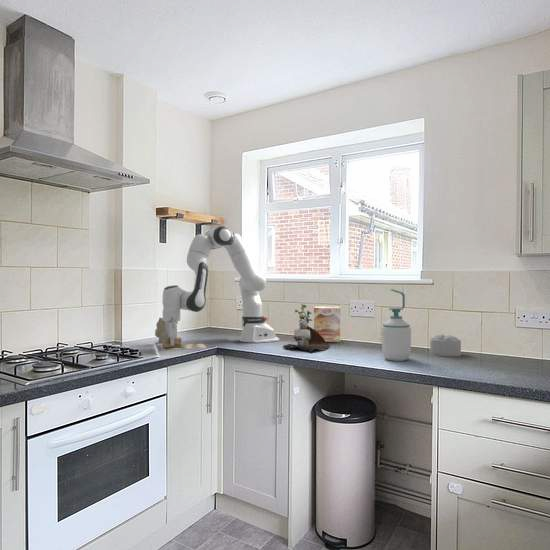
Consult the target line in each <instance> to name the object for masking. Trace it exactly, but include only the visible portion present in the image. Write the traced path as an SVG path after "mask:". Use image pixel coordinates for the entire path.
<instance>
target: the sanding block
mask: <svg viewBox="0 0 550 550" xmlns="http://www.w3.org/2000/svg"><path fill="white" fill-rule="evenodd" d="M161 343H162V344H161V346H162V347H163V348H179V347H181V345H182V337H180V336H177V337H176V338H175V340H174V345H173V346H171V345H170V338H162V342H161Z"/></svg>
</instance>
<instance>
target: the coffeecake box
mask: <svg viewBox="0 0 550 550" xmlns="http://www.w3.org/2000/svg"><path fill="white" fill-rule="evenodd" d="M341 310H342V309H341V306H314V307H313V329H314V330H315V331H316V332H318V333H319V334H320V335H321V336H322V338H323V339H324V340H325V342H327V343H328V342H329V343H332V342H333V343H334V342H335V343H340V342H341V339H342V338H341V336H342V335H341V334H342V333H341V332H342V331H341V329H342V328H341V320H342V319H341V315H342V314H341Z"/></svg>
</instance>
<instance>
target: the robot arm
mask: <svg viewBox="0 0 550 550" xmlns="http://www.w3.org/2000/svg"><path fill="white" fill-rule="evenodd" d="M220 248H224V249H225V250H226V251H227V253H228V256H229V258H230V260H231V263H232V265H233V267H234V269H235V271H236V272H237V273H238V275H240V278H239V280H238V287H239V289H240V295H241V300H242V301H241V302H242V317H241V325H242V329H241V336H240V340H239V341H240V342H243V343H253V344H254V343H255V344H258V343H259V344H260V343H261V344H262V343H268V342H278V341H280V337H277V336H276V332H275V329H274V328H273V327H271V326H270V325H269V324H268V323H267V322H266V321H269V320H268V319H269V318H268V317H267V316H263V302H262V300H261V296H260V292H262V291H263V290H265V288H266V287H267V279H266V277H265V276H264V275H263V274H262V273H261V271H260V269H259V268H258V267H257V265H256V263H255V262H254V260H253V258H252V255H251V253H250V251H249V249H248V246H247V244H246V243H245V241H244V239H243V238H242V237H241V235H240V234H239V233H234V232H233V231H232V230H231V229H230V227H227V226H224V225H222V226H221V225H220V226H216V227H214V228H212V229H210V230H209V231H207V232H206V233H205V234H202V233H200V234H196V235H195V236H193V238H192V240H191V243H190V245H189V248H188V252H187V256H186V263H187V266H188V267H189V268H190V269H191V270H192V271H193V273H194V274H195V278H194V285H193V290H192V291H187V290H185V289H182V288H181V287H180V286H179V285H176V284H175V285H168V286H166V287H164V288H163V292H162V307H163V309H162V318H163V321H165V325H166V332H167V334H168V336H169V338H170V345H171V346H173V345H174V340H175V338H176V337H178V324H179V321H181V310H185V311H190V312H195V313H197V312H198V313H199V312H201V311H202V310H203V309H204V307H206V301H207V300H206V299H207V297H206V291H207V283H208V276H209V265H208V262H209V261H208V260H209V256H210V252H211V250H215V249H220Z"/></svg>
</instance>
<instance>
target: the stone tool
mask: <svg viewBox="0 0 550 550" xmlns="http://www.w3.org/2000/svg"><path fill="white" fill-rule="evenodd" d="M156 322H157V323H156V325H155V326H156V329H155V330H154V335H155V336H154V337H156V338H158V343H162V338H169V336H168V334H167V332H166V325H165V321H163V317H160V316H159V317H158V320H157V321H156Z"/></svg>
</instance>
